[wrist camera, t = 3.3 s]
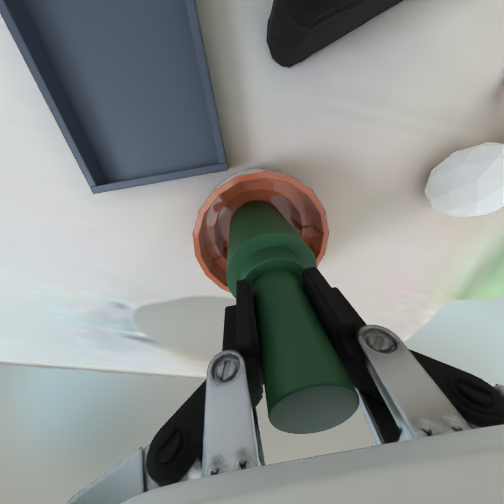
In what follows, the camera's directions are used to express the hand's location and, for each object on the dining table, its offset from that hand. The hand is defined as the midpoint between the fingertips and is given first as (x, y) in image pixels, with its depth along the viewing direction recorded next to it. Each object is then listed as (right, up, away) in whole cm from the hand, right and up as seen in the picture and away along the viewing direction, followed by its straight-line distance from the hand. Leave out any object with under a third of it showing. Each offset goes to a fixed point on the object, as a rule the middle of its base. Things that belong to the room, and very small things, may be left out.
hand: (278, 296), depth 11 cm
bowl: (-1, +5, +11) cm, 13 cm away
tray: (-11, +17, +5) cm, 21 cm away
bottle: (-1, +5, +11) cm, 12 cm away
